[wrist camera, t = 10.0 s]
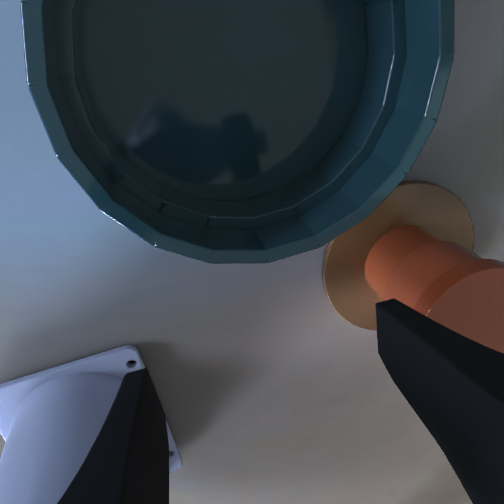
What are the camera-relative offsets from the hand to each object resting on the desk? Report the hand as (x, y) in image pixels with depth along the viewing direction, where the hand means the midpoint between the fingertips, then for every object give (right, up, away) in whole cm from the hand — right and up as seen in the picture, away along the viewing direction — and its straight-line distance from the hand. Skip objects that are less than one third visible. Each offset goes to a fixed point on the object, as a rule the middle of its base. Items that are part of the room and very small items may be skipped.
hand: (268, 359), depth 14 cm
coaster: (+8, +3, +12) cm, 14 cm away
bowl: (-1, +11, +6) cm, 13 cm away
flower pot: (+8, +3, +11) cm, 14 cm away
